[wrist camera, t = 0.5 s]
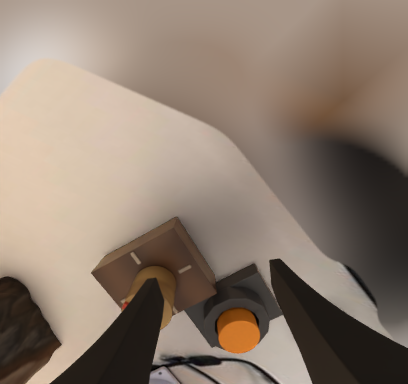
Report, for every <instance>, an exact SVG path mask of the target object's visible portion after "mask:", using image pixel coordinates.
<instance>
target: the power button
mask: <svg viewBox="0 0 408 384" xmlns="http://www.w3.org/2000/svg"><path fill="white" fill-rule="evenodd" d="M217 329H218V338H219V343H220V345H221V346H222V348H224V349H225V350H226V351H228V352H231V353H245V352H248V351H250V350H251V349H253V348H254V347H255V346H256V345H257V344H258V342H259V340H260V331H259V328H258V325H257V322H256V319H255V316H254V315H253V313H252V312H251V311H249V310H248V309H246V308H243V307H240V308H230V309H228V310H226V311H224V312H223V313H222V314H221V315H220V316H219V318H218V321H217Z"/></svg>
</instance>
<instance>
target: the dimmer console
mask: <svg viewBox="0 0 408 384" xmlns="http://www.w3.org/2000/svg"><path fill="white" fill-rule="evenodd" d="M150 266H160V267H163V268H166V269H167V270H169V271H170V272H171V273H172V274H173V275H174V277H175V279H176V292H175V299H174V305H173V312H172V316H173V315H175V314H177V313H179V312H181V311H183V310H185V309H187V308H189V307H191V306H193V305H195V304H197V303H199V302H201V301H203V300H205V299H207V298H209V297H211V296H213V295H215V294H217V289H216V281H215V275H214V273H213V272H212V270H211V269H210V267H209V266H208V264H207V263H206V261H205V259H204V258H203V256H202V255H201V253H200V252H199V250H198V249H197V247H196V246H195V244H194V242H193V241H192V239H191V238H190V236H189V235H188V233H187V232H186V230H185V229H184V227H183V225H182V224H181V222H180V221H179V219H178V218H177V217H175V218H173V219H172V220H170V221H168V222H166V223H164V224H162V225H161V226H159V227H157V228H155V229H153V230H152V231H150V232H148V233H146V234H144V235H143V236H141V237H139V238H137V239H135V240H134V241H132V242H130V243H128V244H126V245H124V246H123V247H121V248H119V249H117V250H115V251H114V252H112V253H110V254H108V255H106V256H105V257H104V258H103V259H102V260H101V261H100V263H99V264H98V265H97V266H96V267H95V269H94V270H93V271H92V272H91V274H92V275H93V276H94V277H95V278H96V280H97V281H98V282H99V283H100V284H101V286H102V287H103V288H104V289H105V290H106V291H107V293H108V294H109V295H110V296H111V297H112V299H113V300H114V301H115V302H116V303H117V305H118V306H119V307H120V308H121V309H122V305H123V303H124V301H125V299H126V297H127V295H128V292H129V290H130V288H131V286H132V284H133V282H134V280H135V277H136V275H137V274H138V273H139V272H140V271H141V270H142V269H144V268H146V267H150Z"/></svg>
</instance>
